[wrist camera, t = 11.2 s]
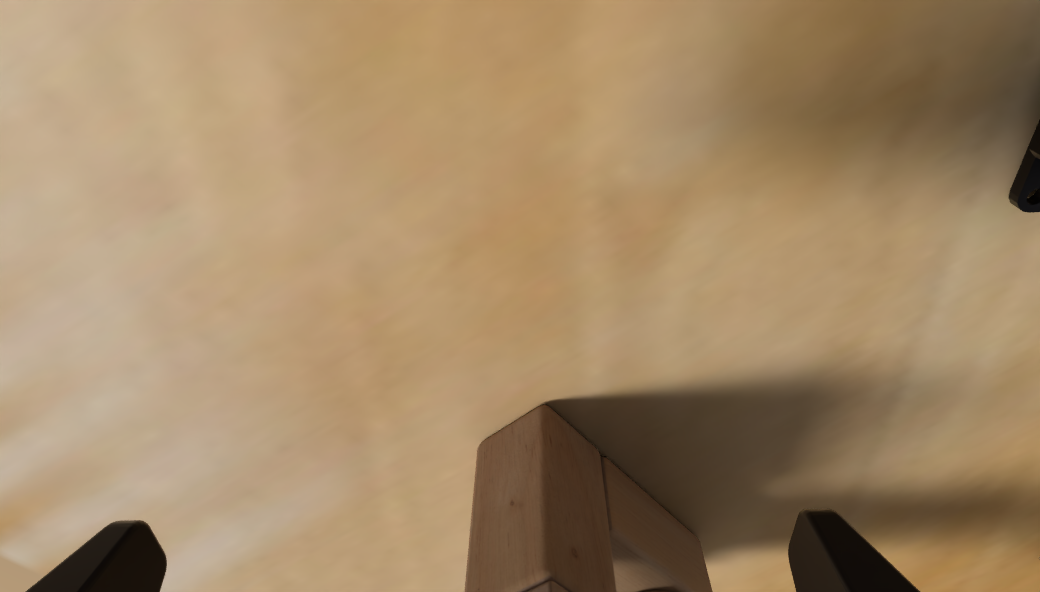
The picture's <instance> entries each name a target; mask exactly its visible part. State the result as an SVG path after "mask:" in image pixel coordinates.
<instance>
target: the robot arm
mask: <svg viewBox="0 0 1040 592" xmlns="http://www.w3.org/2000/svg"><path fill="white" fill-rule="evenodd" d="M1035 189H1037V191H1036V192H1035V193H1034V195H1032V196H1031V197H1029V198H1027V196H1028V195H1029V194H1030V193H1031V192H1032V191H1034V190H1035ZM1009 200H1010V202H1011V203H1012V204H1013V205H1015V206H1016V207H1017V208H1019V209H1020V210H1022V211H1023V212H1040V120H1039V122H1038V125H1037V127H1036V130H1035V132H1034V134H1033V137H1032V139H1031V142H1030V144H1029V146H1028V149H1027V151H1026V154H1025V156H1024V158H1023V161H1022V163H1021V166H1020V168H1019V170H1018V173H1017V175H1016V178H1015V180H1014V182H1013V185H1012V187H1011V190H1010V193H1009ZM788 555H789V563H790V567H791V571H792V576H793V580H794V584H795V588H796V592H920V591H919V590H918V589H917V588H916V587H915V586H914V585H913V584H912V583H911V582H910V581H908V580H907V579H906V578H905V577H904V576H903V575H902V574H901V573H900V572H899V571H898V570H897V569H896V568H895V567H894V566H893V565H892V564H891V563H890V562H889V561H888V560H886V559H885V558H884V557H883V556H882V555H881V554H880V553H879V552H878V551H877V550H876V549H875V548H874V547H873V546H872V545H871V544H870V543H869V542H868V541H867V540H866V539H865V538H863V537H862V536H861V535H860V534H859V533H858V532H857V531H856V530H855V529H854V528H853V527H852V526H851V525H850V524H849V523H848V522H847V521H846V520H845V519H844V518H843V517H841V516H840V515H839V514H838V513H837V512H835V511H833V510H831V509H803V510H802V511H801V512H800V513H799V515H798V517H797V521H796V524H795V527H794V530H793V534H792V537H791V540H790V543H789V549H788ZM166 566H167V560H166V555H165V552H164V551H163V549H162V547H161V545H160V544H159V542H158V540H157V539H156V537H155V535H154V533H153V532H152V530H151V528H150V526H149V525H148V524H147V523H146V522H144V521H141V520H134V521H116V522H113V523H111V524H109V525H107V526H106V527H105V528H103V529H102V530H101V531H100V532H98V533H97V534H96V535H95V536H94V537H92V538H91V539H90V540H89V541H87V542H86V543H85V544H84V545H82V546H81V547H80V548H79V549H78V550H76V551H75V552H74V553H73V554H71V555H70V556H69V557H68V558H66V559H65V560H64V561H63V562H61V563H60V564H59V565H58V566H57V567H55V568H54V569H53V570H52V571H50V572H49V573H48V574H47V575H45V576H44V577H43V578H42V579H41V580H40V581H38V582H37V583H36V584H35V585H33V586H32V587H31V588H30V589H28V590H27V591H26V592H160V589H161V586H162V583H163V579H164V576H165V572H166Z"/></svg>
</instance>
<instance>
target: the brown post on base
mask: <svg viewBox="0 0 1040 592" xmlns="http://www.w3.org/2000/svg"><path fill="white" fill-rule="evenodd" d="M465 592H712V588H711V584H710V580H709V576H708V572H707V568H706V564H705V560H704V556H703V552H702V549H701V545H700V541H699V540H698V538H697V537H696V536H695V535H693V534H692V533H691V532H690V531H689V530H688V529H687V528H685V527H684V526H683V525H682V524H681V523H680V522H679V521H678V520H676V519H675V518H674V517H673V516H672V515H671V514H670V513H668V512H667V511H666V510H665V509H664V508H663V507H662V506H660V505H659V504H658V503H657V502H656V501H655V500H654V499H653V498H651V497H650V496H649V495H648V494H647V493H646V492H645V491H643V490H642V489H641V488H640V487H639V486H638V485H637V484H636V483H634V482H633V481H632V480H631V479H630V478H629V477H628V476H626V475H625V474H624V473H623V472H622V471H621V470H620V469H619V468H617V467H616V466H615V465H614V464H613V463H612V462H611V461H609V460H608V459H607V458H605V457H600V454H599V452H598V450H597V449H596V448H595V447H594V446H593V445H592V444H591V443H590V442H589V441H587V440H586V439H585V438H584V437H583V436H582V435H581V434H580V433H578V432H577V431H576V430H575V429H574V428H573V427H572V426H570V425H569V424H568V423H567V422H566V421H565V420H564V419H563V418H561V417H560V416H559V415H558V414H557V413H556V412H555V411H553V410H552V409H551V408H550V407H549V406H546V405H542V406H539V407H537V408H535V409H534V410H532V411H531V412H529V413H527V414H526V415H524V416H522V417H521V418H519V419H518V420H516V421H514V422H513V423H511V424H510V425H508V426H506V427H505V428H503V429H502V430H500V431H498V432H497V433H495V434H493V435H492V436H490V437H489V438H487V439H485V440H484V441H483V442H482V443H481V444H480V445H479V447H478V450H477V461H476V472H475V483H474V494H473V505H472V516H471V527H470V538H469V549H468V560H467V571H466V582H465Z"/></svg>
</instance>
